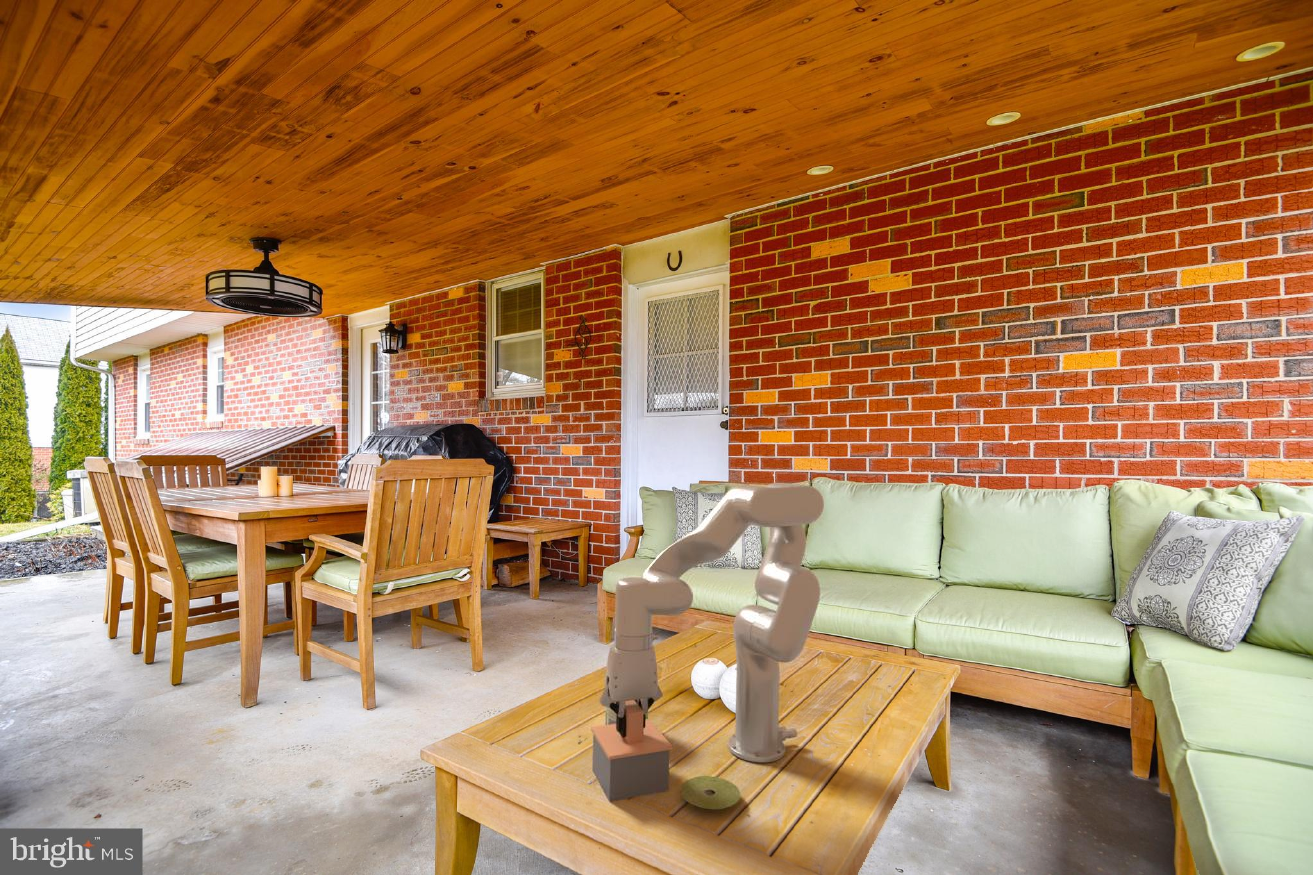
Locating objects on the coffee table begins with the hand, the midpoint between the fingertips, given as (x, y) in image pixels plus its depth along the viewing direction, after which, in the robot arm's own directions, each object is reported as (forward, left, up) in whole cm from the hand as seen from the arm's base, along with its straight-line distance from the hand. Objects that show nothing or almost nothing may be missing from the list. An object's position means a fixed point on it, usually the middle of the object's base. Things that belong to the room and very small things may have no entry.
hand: (630, 732), depth 121 cm
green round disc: (-12, +12, -10) cm, 19 cm away
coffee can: (-6, -20, -10) cm, 23 cm away
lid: (0, 0, -1) cm, 1 cm away
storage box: (0, 0, -9) cm, 9 cm away
